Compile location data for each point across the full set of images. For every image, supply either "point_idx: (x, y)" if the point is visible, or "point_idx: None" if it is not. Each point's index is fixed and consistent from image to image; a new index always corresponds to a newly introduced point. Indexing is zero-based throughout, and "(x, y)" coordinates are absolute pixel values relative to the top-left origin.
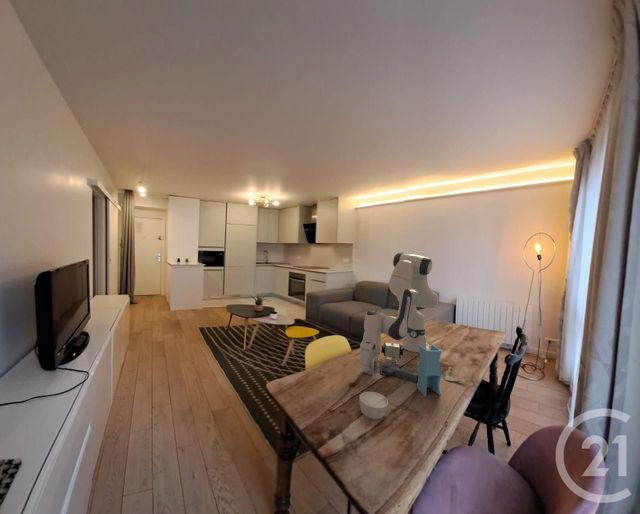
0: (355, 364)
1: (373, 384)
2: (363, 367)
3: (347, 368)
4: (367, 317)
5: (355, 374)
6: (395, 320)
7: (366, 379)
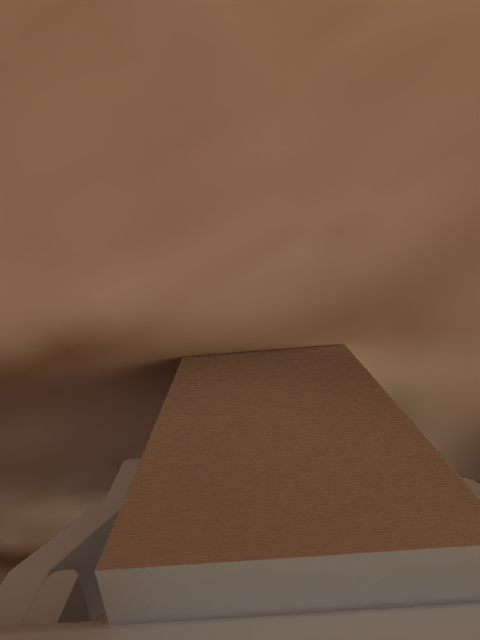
0: (394, 92)
1: (5, 566)
2: (166, 397)
3: (121, 52)
4: None
5: (39, 294)
6: None
7: (41, 469)
